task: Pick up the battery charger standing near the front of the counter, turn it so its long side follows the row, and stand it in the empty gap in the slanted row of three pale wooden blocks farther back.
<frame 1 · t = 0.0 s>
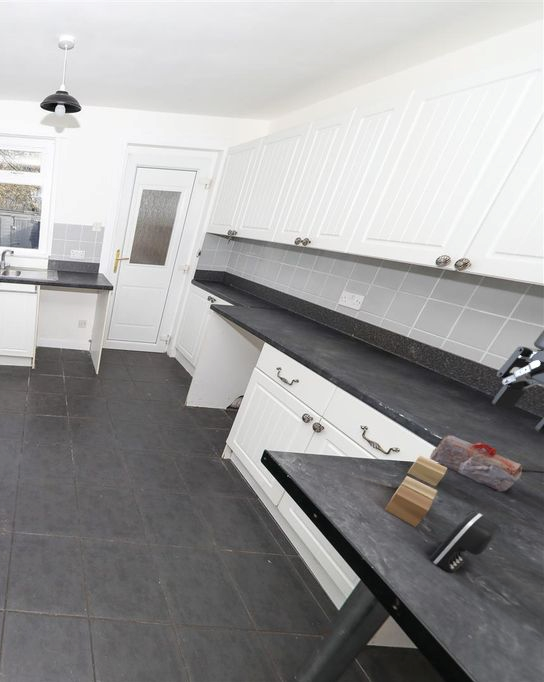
hand: (521, 419, 54), 32 cm above the table, tool pointing down, fingers open, 8 cm apart
block b: (420, 479, 86), on the table
block d: (402, 513, 74), on the table
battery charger: (447, 564, 64), on the table
food item: (462, 475, 89), on the table
block c: (408, 502, 78), on the table
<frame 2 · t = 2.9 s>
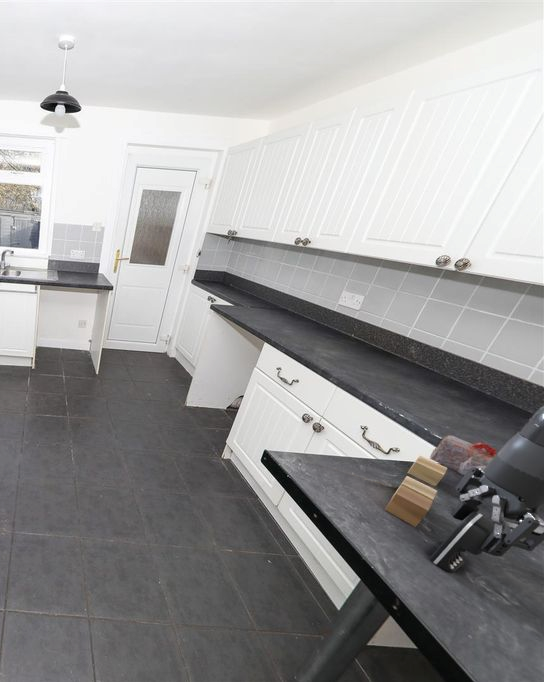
hand: (472, 534, 61), 8 cm above the table, tool pointing down, fingers closed on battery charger, 7 cm apart
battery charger: (447, 564, 64), on the table, touching gripper
everything else where it was.
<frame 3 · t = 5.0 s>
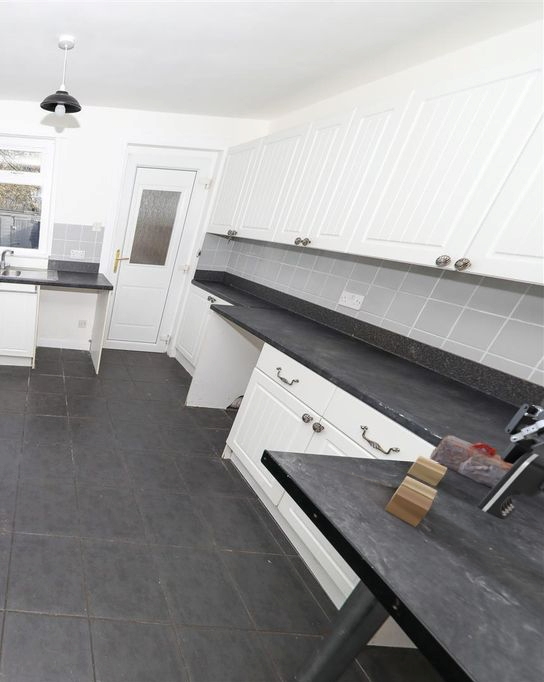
hand: (527, 476, 55), 22 cm above the table, tool pointing down, fingers closed on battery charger, 7 cm apart
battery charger: (497, 512, 58), point 14 cm above the table, touching gripper
everything else where it was.
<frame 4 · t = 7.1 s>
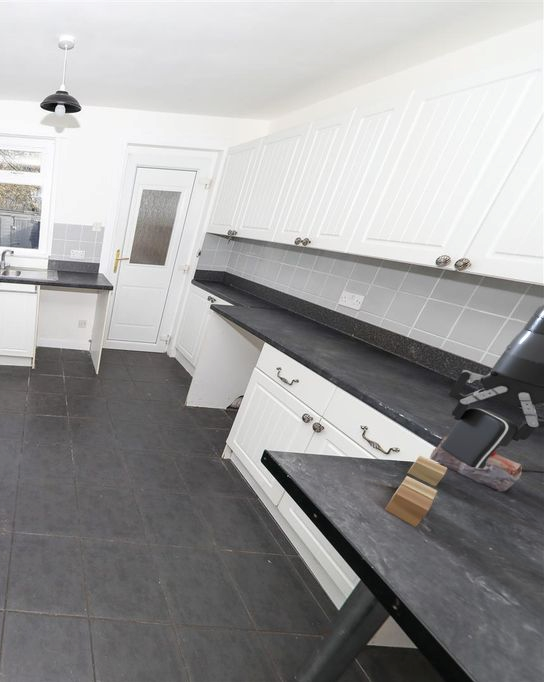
hand: (484, 428, 68), 22 cm above the table, tool pointing down, fingers closed on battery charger, 7 cm apart
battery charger: (462, 459, 71), point 14 cm above the table, touching gripper
everything else where it was.
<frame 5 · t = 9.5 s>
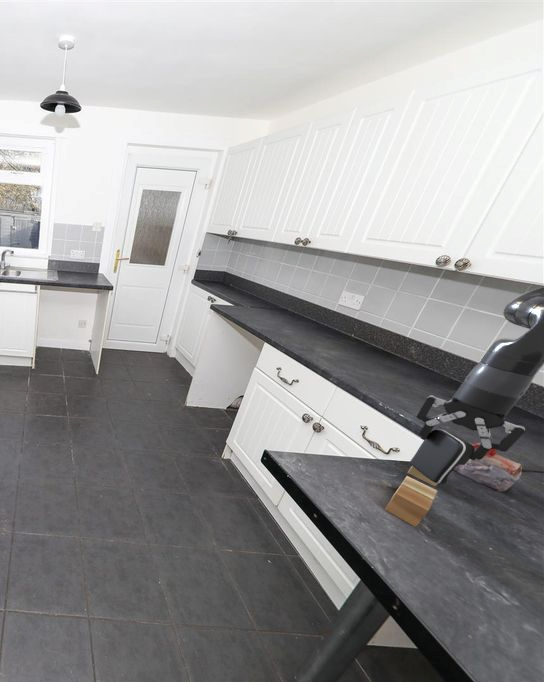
hand: (446, 447, 76), 13 cm above the table, tool pointing down, fingers closed on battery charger, 7 cm apart
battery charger: (427, 475, 79), point 5 cm above the table, touching gripper
everything else where it was.
when the fingers open (8 cm above the table, at t = 11.5 s): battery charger stays where it is, on the table.
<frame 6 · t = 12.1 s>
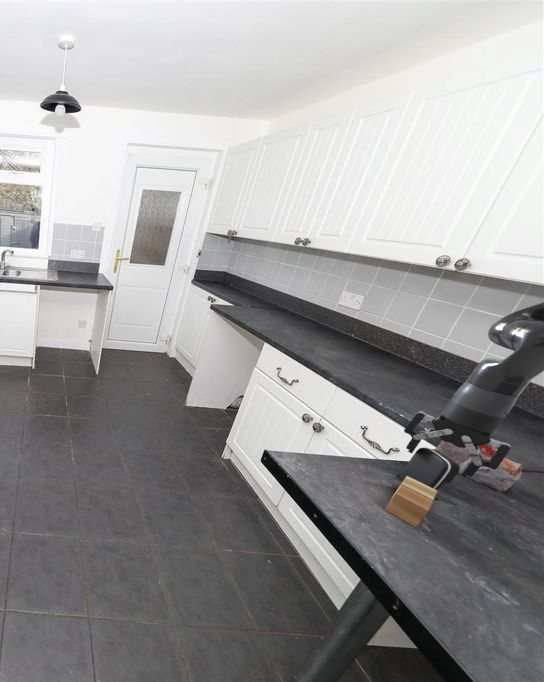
hand: (435, 462, 78), 9 cm above the table, tool pointing down, fingers open, 8 cm apart
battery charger: (415, 491, 82), on the table
everything else where it was.
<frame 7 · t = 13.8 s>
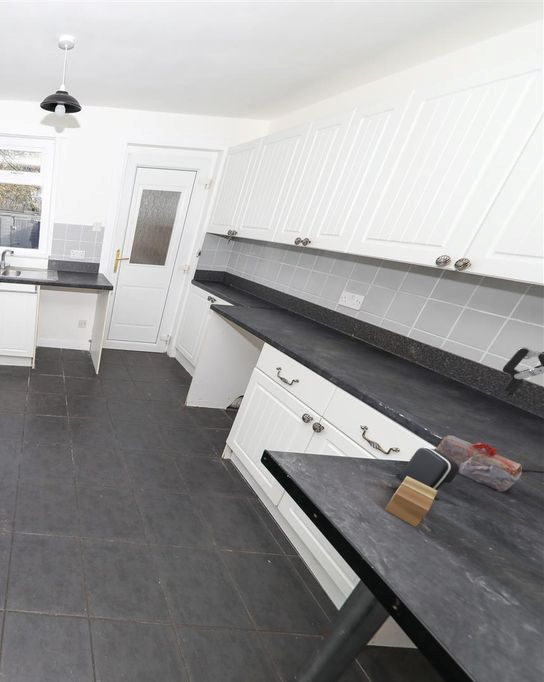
hand: (542, 403, 70), 28 cm above the table, tool pointing down, fingers open, 8 cm apart
nothing on the table moved.
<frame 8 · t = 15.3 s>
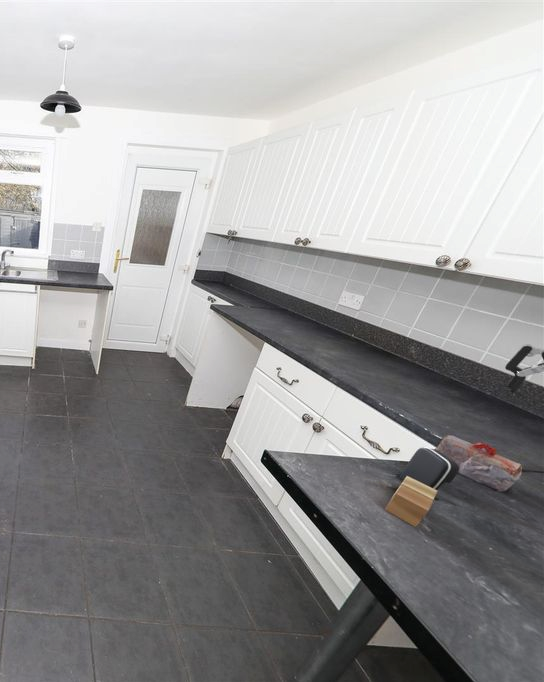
nothing on the table moved.
at the end: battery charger 0.2 cm from the target spot on the table beside the block b, on the table; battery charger tilted 0°; block c moved 0.0 cm from its start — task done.
